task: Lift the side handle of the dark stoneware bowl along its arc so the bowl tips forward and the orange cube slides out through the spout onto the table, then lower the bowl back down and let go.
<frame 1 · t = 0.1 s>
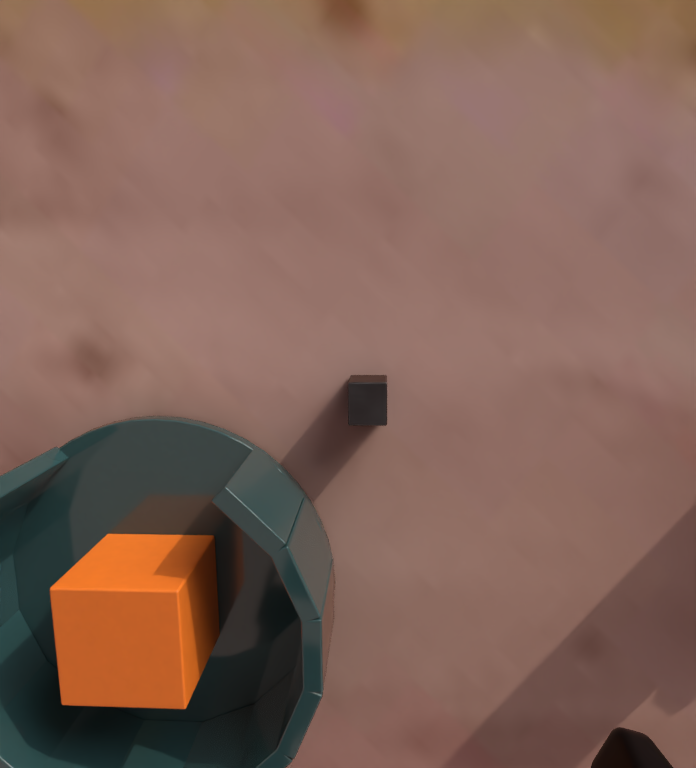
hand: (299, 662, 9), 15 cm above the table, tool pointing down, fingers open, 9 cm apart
cube: (164, 584, 25), point 1 cm above the table, touching bowl
bowl: (143, 681, 23), point 3 cm above the table, hinge at -0.1°, touching cube
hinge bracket: (170, 576, 26), on the table
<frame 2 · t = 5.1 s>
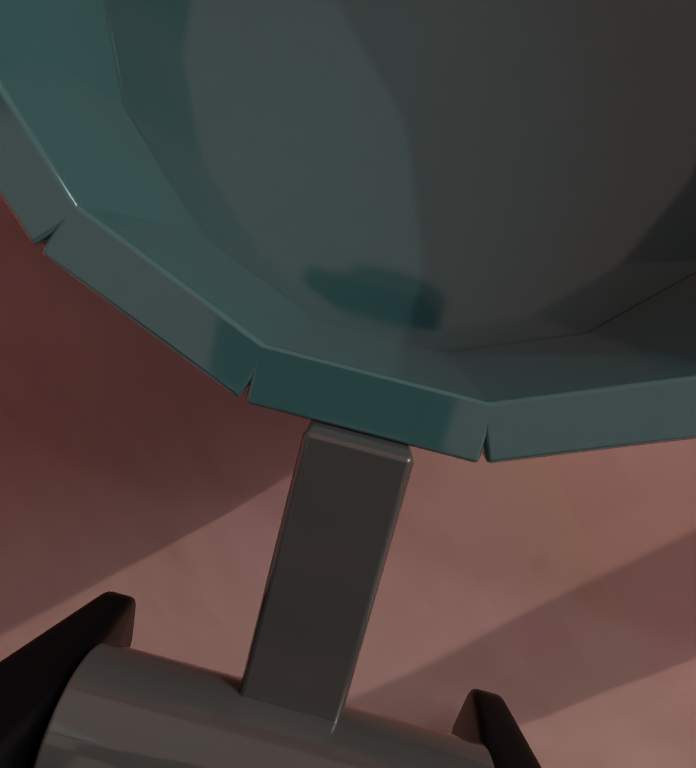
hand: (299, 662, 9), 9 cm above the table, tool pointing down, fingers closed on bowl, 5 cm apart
bowl: (452, 72, 8), point 6 cm above the table, hinge at 16.2°, touching gripper
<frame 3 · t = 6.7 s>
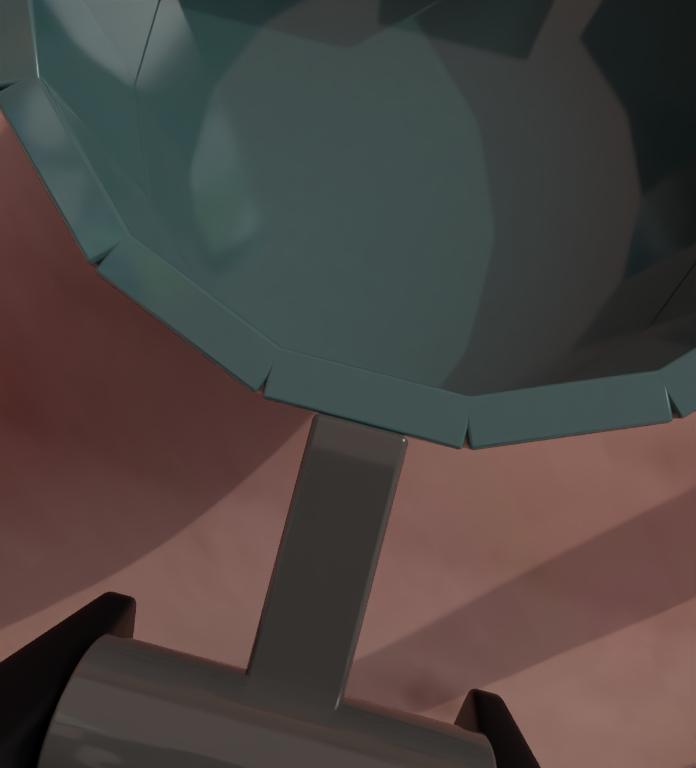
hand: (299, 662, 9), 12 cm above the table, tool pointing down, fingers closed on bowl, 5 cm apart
bowl: (426, 161, 10), point 8 cm above the table, hinge at 30.5°, touching cube, gripper
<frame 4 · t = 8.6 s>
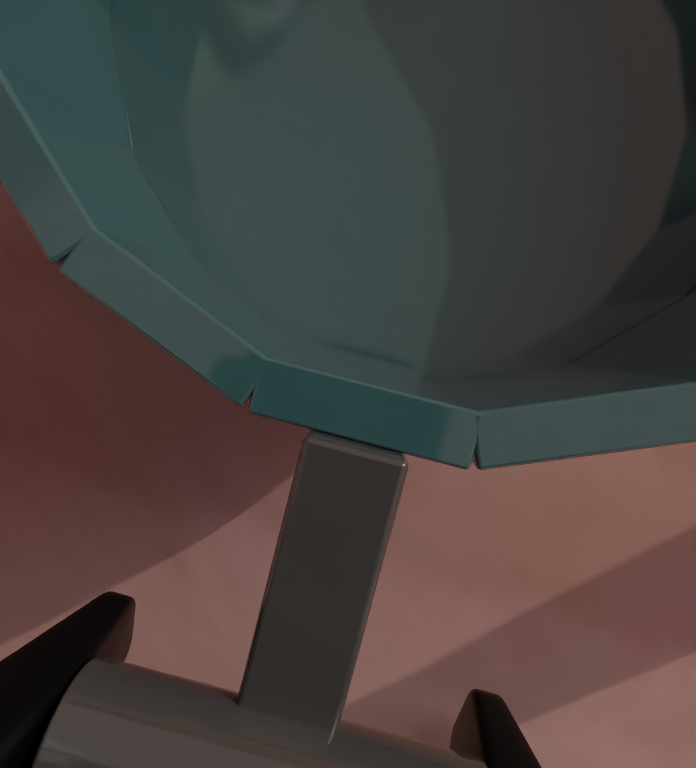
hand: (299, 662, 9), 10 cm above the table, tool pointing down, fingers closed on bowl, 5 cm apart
bowl: (438, 119, 9), point 6 cm above the table, hinge at 20.3°, touching cube, gripper
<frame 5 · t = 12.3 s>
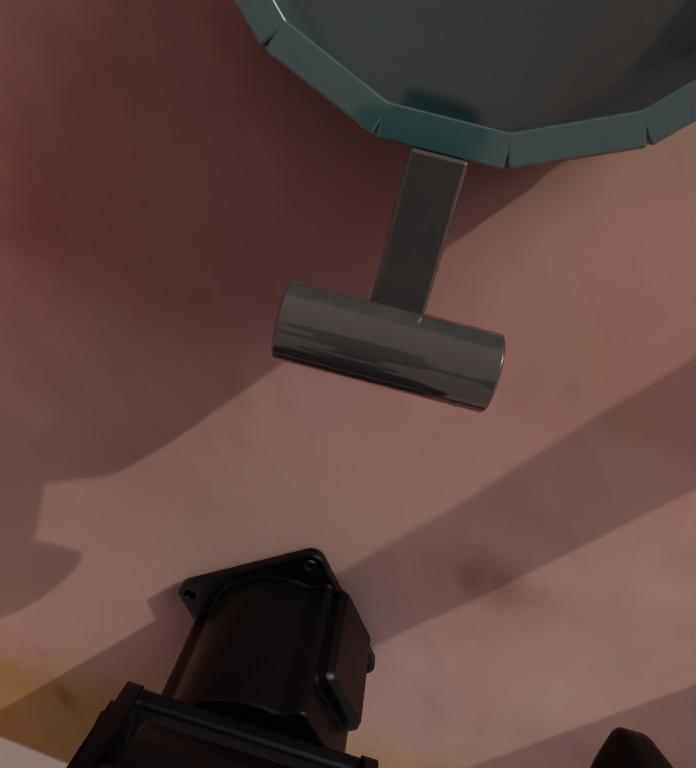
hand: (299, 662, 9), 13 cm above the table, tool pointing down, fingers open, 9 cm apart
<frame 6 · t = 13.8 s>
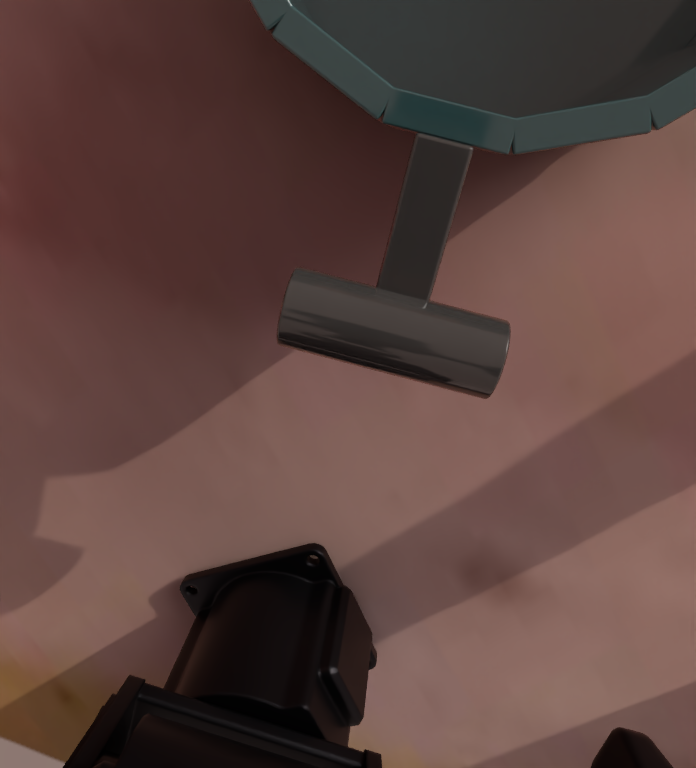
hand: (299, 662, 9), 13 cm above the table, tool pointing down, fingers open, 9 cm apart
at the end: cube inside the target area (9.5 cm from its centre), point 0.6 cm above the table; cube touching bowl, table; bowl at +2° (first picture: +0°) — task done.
